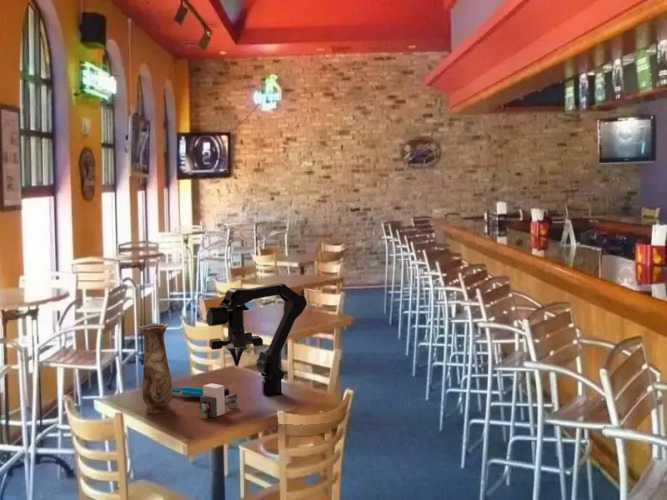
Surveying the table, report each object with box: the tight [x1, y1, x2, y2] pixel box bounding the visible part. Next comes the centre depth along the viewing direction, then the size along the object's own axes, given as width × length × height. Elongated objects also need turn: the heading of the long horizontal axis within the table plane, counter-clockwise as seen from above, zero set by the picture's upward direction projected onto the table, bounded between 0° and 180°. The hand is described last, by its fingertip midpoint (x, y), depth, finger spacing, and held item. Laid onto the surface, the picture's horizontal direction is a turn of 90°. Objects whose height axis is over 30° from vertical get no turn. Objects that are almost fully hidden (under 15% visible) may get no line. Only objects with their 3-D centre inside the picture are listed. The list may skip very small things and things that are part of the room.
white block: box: [202, 383, 226, 417], centre depth 275 cm, size 4×6×10 cm, turn 55°
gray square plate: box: [199, 396, 218, 418], centre depth 273 cm, size 2×6×6 cm, turn 55°
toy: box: [172, 385, 230, 398], centre depth 297 cm, size 8×6×30 cm
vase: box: [138, 322, 173, 414], centre depth 280 cm, size 10×11×30 cm
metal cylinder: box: [198, 393, 239, 420], centre depth 277 cm, size 16×3×5 cm, turn 145°
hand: (236, 365), depth 293 cm, fingers closed
